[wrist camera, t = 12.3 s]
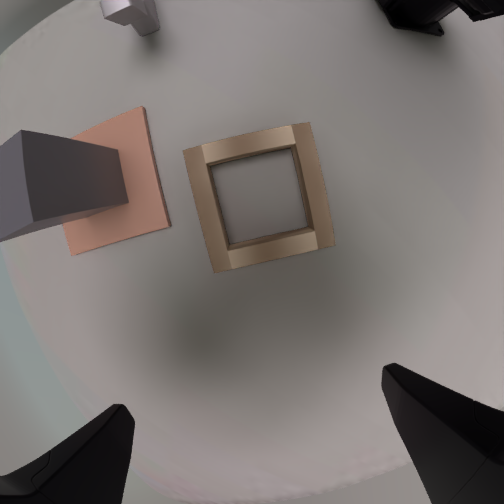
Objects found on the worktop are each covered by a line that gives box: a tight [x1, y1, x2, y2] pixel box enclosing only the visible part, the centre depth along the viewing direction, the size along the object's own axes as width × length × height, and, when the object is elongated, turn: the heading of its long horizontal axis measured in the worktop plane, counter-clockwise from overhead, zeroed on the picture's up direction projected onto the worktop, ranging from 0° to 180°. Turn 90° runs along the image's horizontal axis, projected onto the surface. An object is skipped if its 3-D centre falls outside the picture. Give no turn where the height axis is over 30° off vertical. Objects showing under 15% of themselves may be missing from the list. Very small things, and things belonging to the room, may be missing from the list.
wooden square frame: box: [183, 122, 336, 273], centre depth 18 cm, size 8×8×2 cm
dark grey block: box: [0, 130, 129, 242], centre depth 13 cm, size 4×4×10 cm
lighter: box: [100, 0, 160, 36], centre depth 11 cm, size 7×2×8 cm, turn 16°
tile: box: [63, 106, 171, 256], centre depth 18 cm, size 9×9×1 cm
